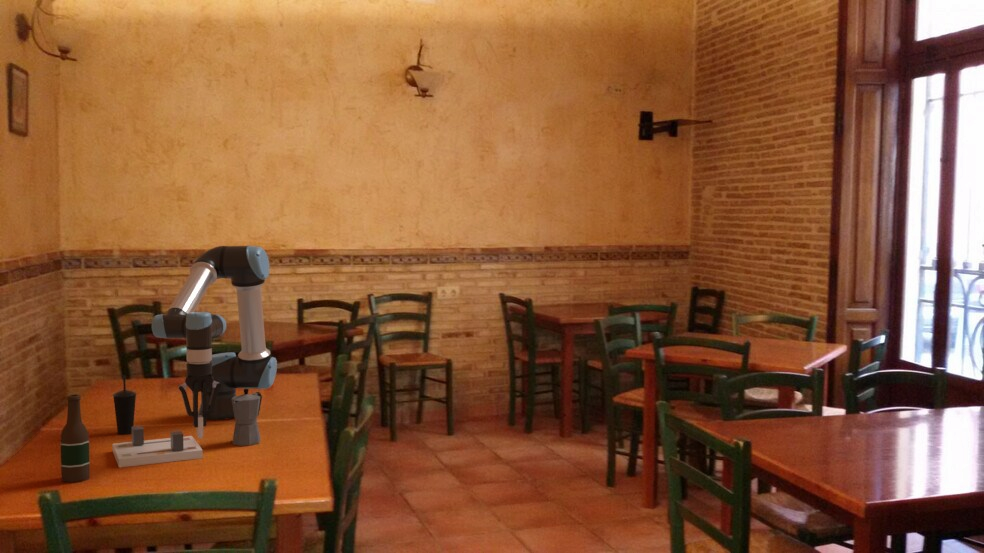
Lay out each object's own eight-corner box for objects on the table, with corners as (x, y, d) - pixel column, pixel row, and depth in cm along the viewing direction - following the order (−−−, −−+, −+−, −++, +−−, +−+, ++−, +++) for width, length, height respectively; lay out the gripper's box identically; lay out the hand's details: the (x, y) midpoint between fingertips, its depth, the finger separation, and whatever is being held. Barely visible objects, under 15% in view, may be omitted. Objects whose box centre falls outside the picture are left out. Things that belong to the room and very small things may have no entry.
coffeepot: (247, 448, 289) (247, 393, 288) (222, 446, 292) (221, 391, 291) (273, 437, 304) (273, 384, 302) (249, 435, 307) (248, 383, 305)
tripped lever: (180, 446, 281) (180, 430, 280) (183, 450, 276) (183, 433, 276) (170, 447, 279) (170, 431, 279) (173, 451, 275) (172, 434, 274)
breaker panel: (191, 443, 295) (191, 435, 295) (202, 458, 278) (202, 449, 277) (112, 451, 284) (112, 443, 284) (118, 467, 266) (118, 458, 266)
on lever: (141, 441, 287) (141, 425, 286) (143, 444, 282) (143, 428, 282) (131, 442, 285) (131, 426, 285) (133, 445, 281) (133, 429, 280)
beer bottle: (66, 475, 258) (64, 392, 257) (94, 474, 259) (92, 392, 257) (55, 483, 251) (53, 398, 249) (84, 482, 251) (82, 398, 250)
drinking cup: (128, 436, 304) (127, 377, 302) (108, 434, 305) (107, 376, 304) (142, 431, 311) (140, 373, 310) (122, 429, 313) (121, 372, 311)
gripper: (218, 358, 285) (219, 432, 287) (175, 361, 279) (176, 436, 281) (223, 362, 279) (223, 437, 280) (179, 365, 273) (180, 442, 274)
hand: (200, 437), depth 281 cm, fingers closed
